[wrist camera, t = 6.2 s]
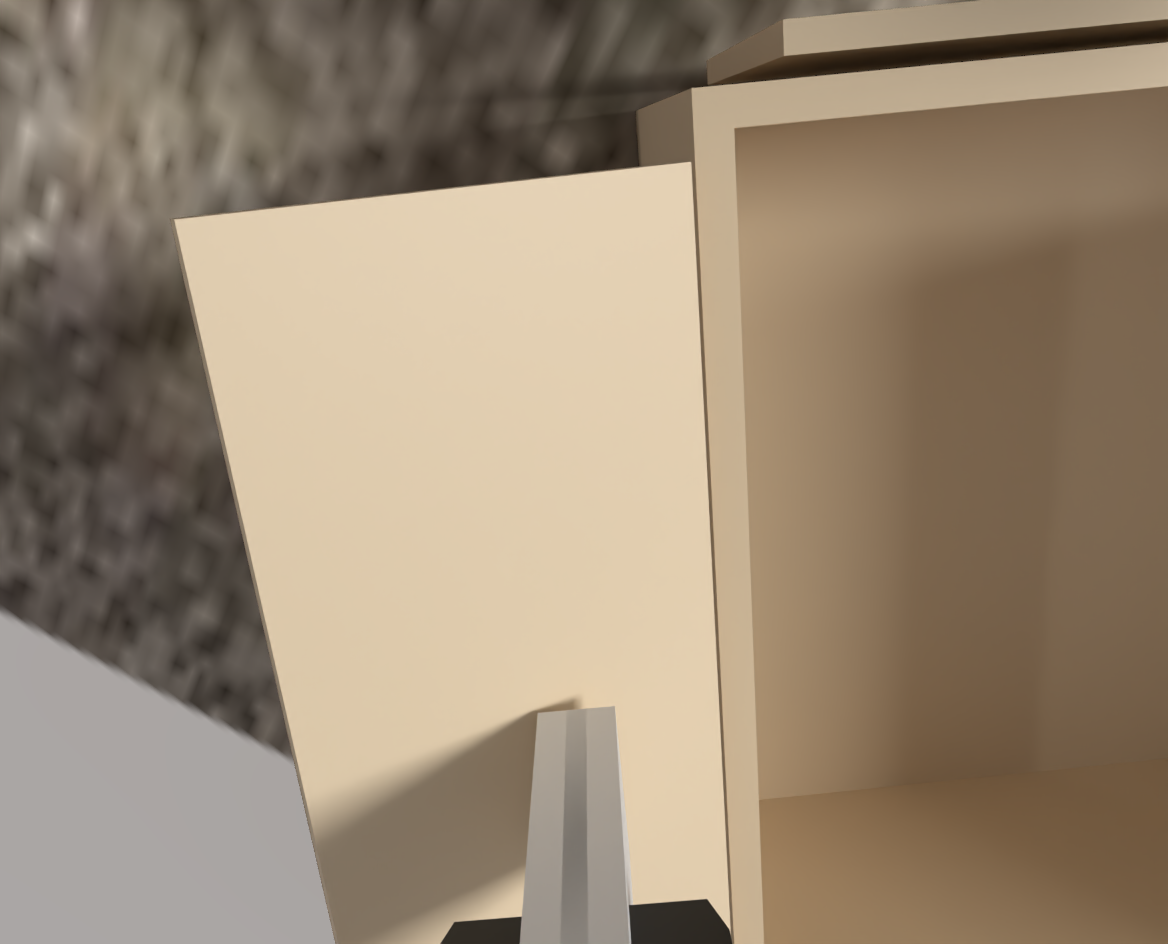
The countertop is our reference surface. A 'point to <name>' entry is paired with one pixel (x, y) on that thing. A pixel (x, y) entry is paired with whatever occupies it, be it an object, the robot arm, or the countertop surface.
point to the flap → (472, 521)
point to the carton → (938, 468)
